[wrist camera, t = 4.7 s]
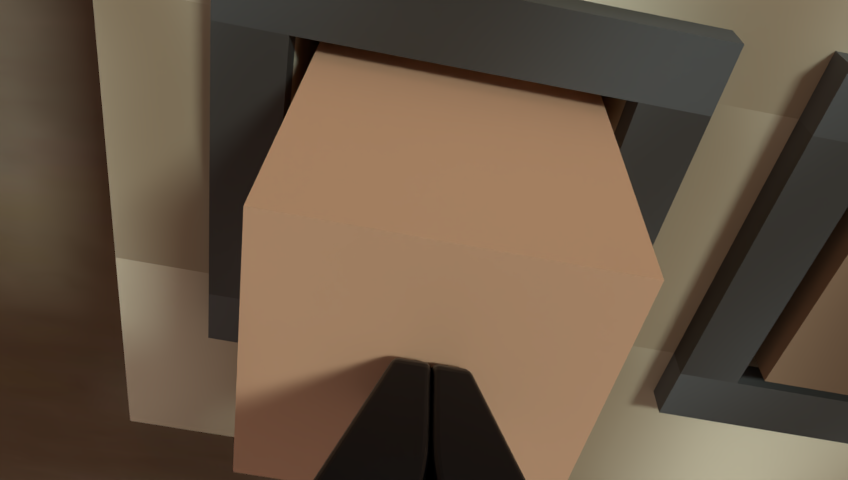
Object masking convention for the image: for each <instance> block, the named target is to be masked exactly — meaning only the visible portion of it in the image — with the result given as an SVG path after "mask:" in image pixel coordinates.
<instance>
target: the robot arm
mask: <svg viewBox="0 0 848 480" xmlns="http://www.w3.org/2000/svg"><path fill="white" fill-rule="evenodd" d="M313 480H525V478H524V476H523V474H522V472H521V470H520V468H519V466H518V464H517V462H516V460H515V458H514V456H513V454H512V452H511V450H510V448H509V446H508V444H507V442H506V440H505V438H504V436H503V434H502V432H501V430H500V428H499V426H498V424H497V422H496V420H495V418H494V416H493V414H492V412H491V410H490V408H489V406H488V404H487V402H486V401H485V399H484V397H483V395H482V393H481V391H480V389H479V387H478V385H477V383H476V381H475V379H474V377H473V375H472V373H471V372H470V371H468V370H467V369H464V368H458V367H452V366H446V365H440V364H437V365H434V366H433V367H432V368H431V367H430V365H429V364H428V363H426V362H422V361H416V360H410V359H404V358H395V359H393V360H392V361H391V362H390V364H389V365H388V367H387V368H386V370H385V371H384V373H383V374H382V376H381V377H380V379H379V380H378V382H377V383H376V385H375V386H374V388H373V390H372V391H371V393H370V394H369V396H368V397H367V399H366V400H365V402H364V403H363V405H362V406H361V408H360V409H359V411H358V412H357V414H356V415H355V417H354V418H353V420H352V421H351V423H350V425H349V426H348V428H347V429H346V431H345V432H344V434H343V435H342V437H341V438H340V440H339V441H338V443H337V444H336V446H335V447H334V449H333V450H332V452H331V453H330V455H329V457H328V458H327V460H326V461H325V463H324V464H323V466H322V467H321V469H320V470H319V472H318V473H317V475H316V476H315V478H314V479H313Z"/></svg>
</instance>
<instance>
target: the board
mask: <svg viewBox="0 0 848 480" xmlns="http://www.w3.org/2000/svg"><path fill="white" fill-rule="evenodd" d="M93 10H94V21H95V32H96V43H97V55H98V66H99V77H100V88H101V100H102V111H103V122H104V133H105V144H106V156H107V167H108V178H109V189H110V201H111V212H112V223H113V234H114V246H115V257H116V268H117V279H118V291H119V302H120V313H121V324H122V335H123V347H124V358H125V369H126V380H127V392H128V403H129V414H130V421H135V422H141V423H147V424H154V425H160V426H166V427H173V428H179V429H185V430H192V431H198V432H204V433H211V434H217V435H223V436H230V437H234V431H235V406H236V381H237V356H238V331H239V306H240V280H241V255H242V230H243V206H244V204H245V201H246V199H247V197H248V195H249V193H250V191H251V189H252V186H253V184H254V182H255V180H256V178H257V176H258V174H259V171H260V169H261V167H262V165H263V163H264V161H265V159H266V156H267V154H268V152H269V150H270V148H271V146H272V144H273V141H274V139H275V137H276V135H277V133H278V131H279V129H280V126H281V124H282V122H283V120H284V118H285V116H286V114H287V111H288V109H289V107H290V105H291V103H292V101H293V98H294V96H295V94H296V92H297V90H298V88H299V86H300V83H301V81H302V79H303V77H304V75H305V73H306V71H307V68H308V66H309V64H310V62H311V60H312V58H313V56H314V53H315V51H316V49H317V47H318V45H319V43H320V41H321V42H327V43H332V44H337V45H342V46H347V47H353V48H358V49H363V50H368V51H373V52H379V53H384V54H389V55H394V56H399V57H405V58H410V59H415V60H420V61H425V62H431V63H436V64H441V65H446V66H451V67H457V68H462V69H467V70H472V71H477V72H483V73H488V74H493V75H498V76H503V77H509V78H514V79H519V80H524V81H529V82H535V83H540V84H545V85H550V86H555V87H561V88H566V89H571V90H576V91H581V92H587V93H592V94H597V95H601V97H602V100H603V103H604V106H605V109H606V112H607V115H608V118H609V121H610V123H611V126H612V129H613V132H614V135H615V138H616V141H617V144H618V147H619V150H620V153H621V156H622V158H623V161H624V164H625V167H626V170H627V173H628V176H629V179H630V182H631V185H632V188H633V191H634V194H635V196H636V199H637V202H638V205H639V208H640V211H641V214H642V217H643V220H644V223H645V226H646V229H647V231H648V234H649V237H650V240H651V243H652V246H653V249H654V252H655V255H656V258H657V261H658V264H659V266H660V269H661V272H662V275H663V278H664V282H663V284H662V286H661V288H660V290H659V292H658V294H657V297H656V299H655V301H654V303H653V305H652V307H651V309H650V311H649V313H648V315H647V317H646V319H645V321H644V323H643V325H642V328H641V330H640V332H639V334H638V336H637V338H636V340H635V342H634V344H633V346H632V348H631V350H630V352H629V354H628V356H627V359H626V361H625V363H624V365H623V367H622V369H621V371H620V373H619V375H618V377H617V379H616V381H615V383H614V385H613V387H612V390H611V392H610V394H609V396H608V398H607V400H606V402H605V404H604V406H603V408H602V410H601V412H600V414H599V416H598V418H597V421H596V423H595V425H594V427H593V429H592V431H591V433H590V435H589V437H588V439H587V441H586V443H585V445H584V447H583V449H582V452H581V454H580V456H579V458H578V460H577V462H576V464H575V466H574V468H573V470H572V472H571V474H570V476H569V478H568V480H848V395H844V394H838V393H832V392H826V391H820V390H815V389H809V388H803V387H797V386H791V385H785V384H779V383H773V382H767V381H764V378H763V376H762V374H761V372H760V369H759V367H758V365H757V362H756V360H755V358H754V355H755V354H756V352H757V351H758V349H759V347H760V346H761V344H762V343H763V341H764V340H765V338H766V336H767V335H768V333H769V332H770V330H771V328H772V327H773V325H774V324H775V322H776V320H777V319H778V317H779V316H780V314H781V312H782V311H783V309H784V308H785V306H786V304H787V303H788V301H789V300H790V298H791V297H792V295H793V293H794V292H795V290H796V289H797V287H798V285H799V284H800V282H801V281H802V279H803V277H804V276H805V274H806V273H807V271H808V269H809V268H810V266H811V265H812V263H813V261H814V260H815V258H816V257H817V255H818V253H819V252H820V250H821V249H822V247H823V246H824V244H825V242H826V241H827V239H828V238H829V236H830V234H831V233H832V231H833V230H834V228H835V226H836V225H837V223H838V222H839V220H840V218H841V217H842V215H843V214H844V212H845V210H846V209H847V207H848V0H93Z"/></svg>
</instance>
